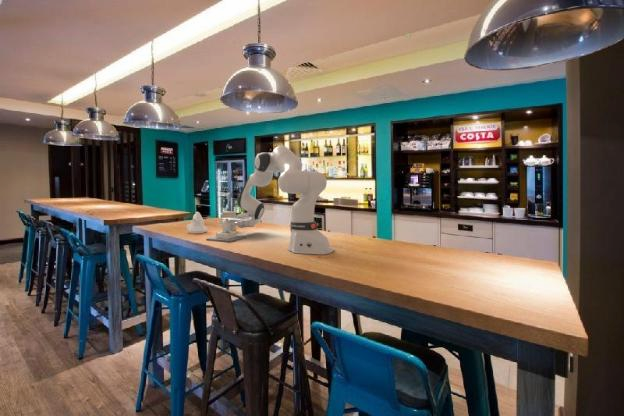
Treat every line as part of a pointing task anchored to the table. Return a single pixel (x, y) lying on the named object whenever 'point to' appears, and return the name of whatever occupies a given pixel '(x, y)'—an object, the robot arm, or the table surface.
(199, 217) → the soft serve ice cream
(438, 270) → the table surface
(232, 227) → the supplement box
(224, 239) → the socket board
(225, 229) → the battery cell
